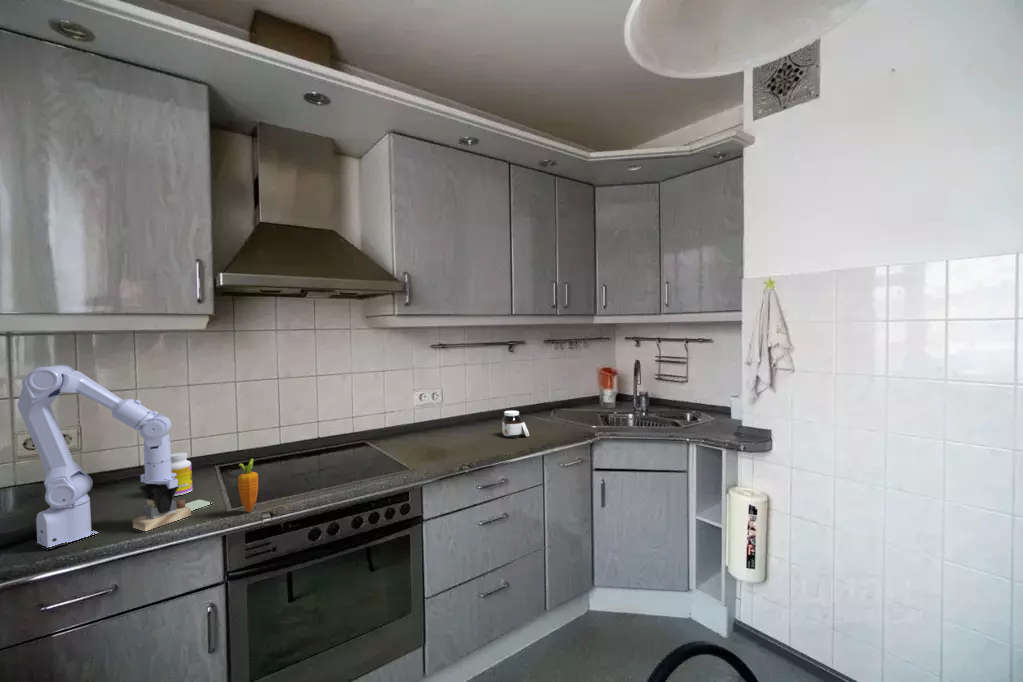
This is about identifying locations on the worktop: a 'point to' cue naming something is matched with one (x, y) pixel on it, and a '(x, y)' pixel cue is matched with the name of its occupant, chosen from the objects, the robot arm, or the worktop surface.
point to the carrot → (248, 486)
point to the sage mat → (197, 504)
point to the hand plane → (162, 517)
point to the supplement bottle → (182, 473)
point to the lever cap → (155, 508)
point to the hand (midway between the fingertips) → (160, 510)
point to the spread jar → (513, 425)
